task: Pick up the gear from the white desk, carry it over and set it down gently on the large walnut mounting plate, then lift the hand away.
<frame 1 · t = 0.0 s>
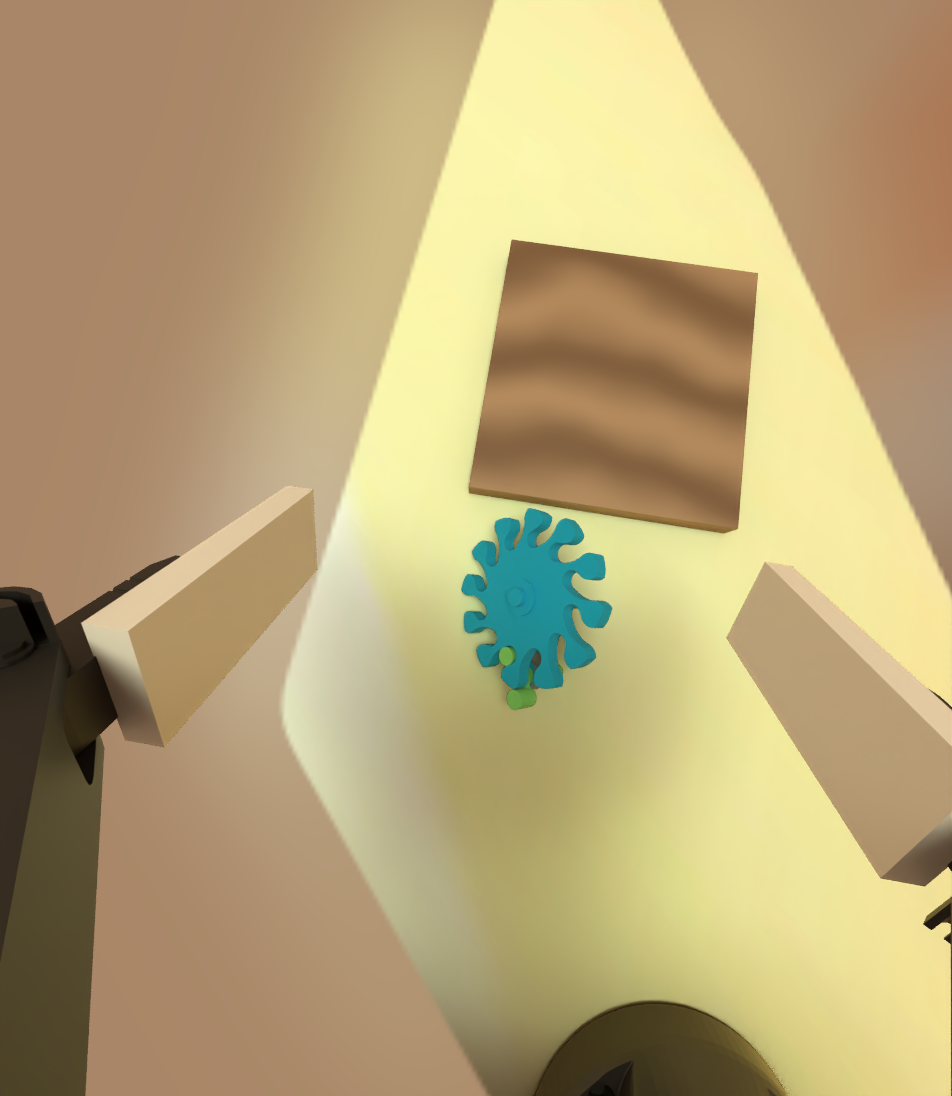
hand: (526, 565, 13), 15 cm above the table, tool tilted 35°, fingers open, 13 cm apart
gear: (520, 608, 28), on the table
mount plate: (611, 387, 30), on the table
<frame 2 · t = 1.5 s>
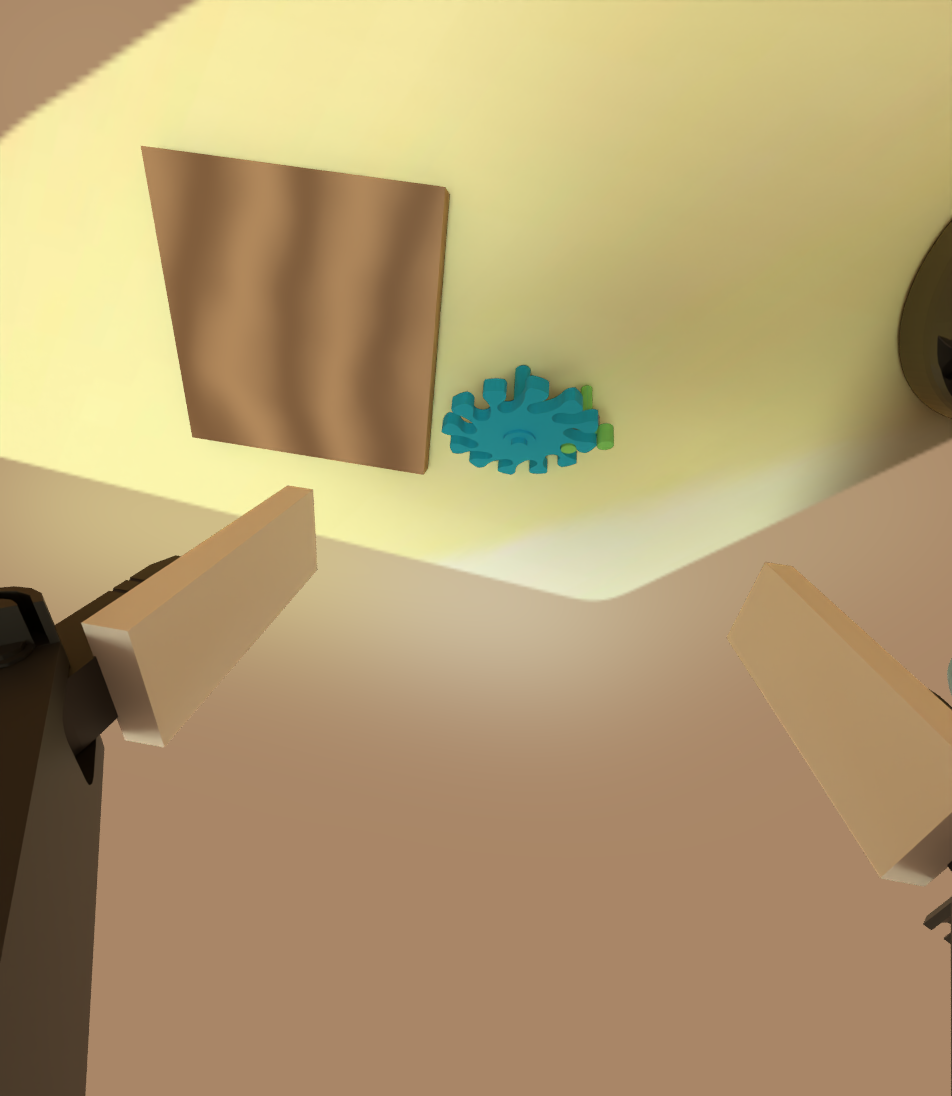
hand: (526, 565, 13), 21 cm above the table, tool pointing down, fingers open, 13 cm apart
gear: (528, 421, 31), on the table
mount plate: (310, 330, 30), on the table
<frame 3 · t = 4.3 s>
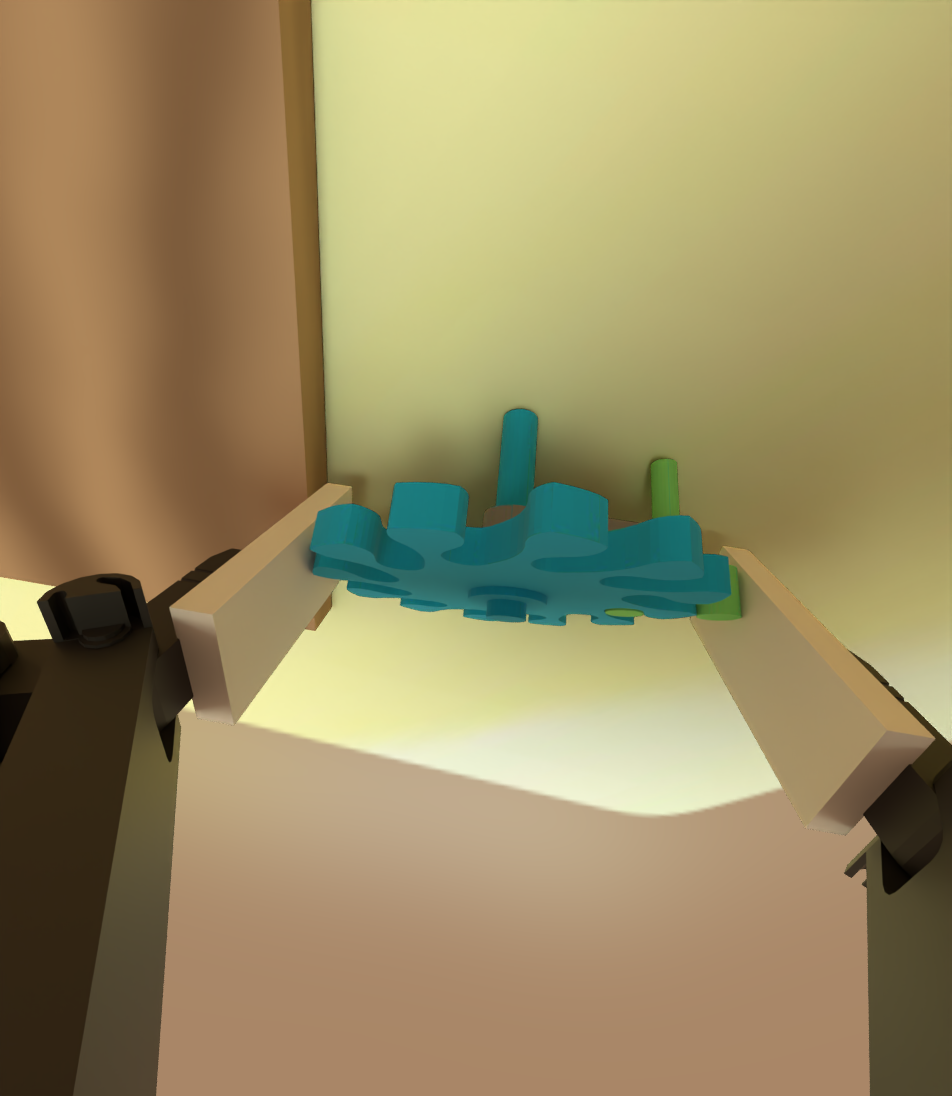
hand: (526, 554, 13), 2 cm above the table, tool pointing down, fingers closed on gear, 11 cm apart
gear: (528, 520, 15), on the table, touching gripper
mount plate: (43, 339, 14), on the table
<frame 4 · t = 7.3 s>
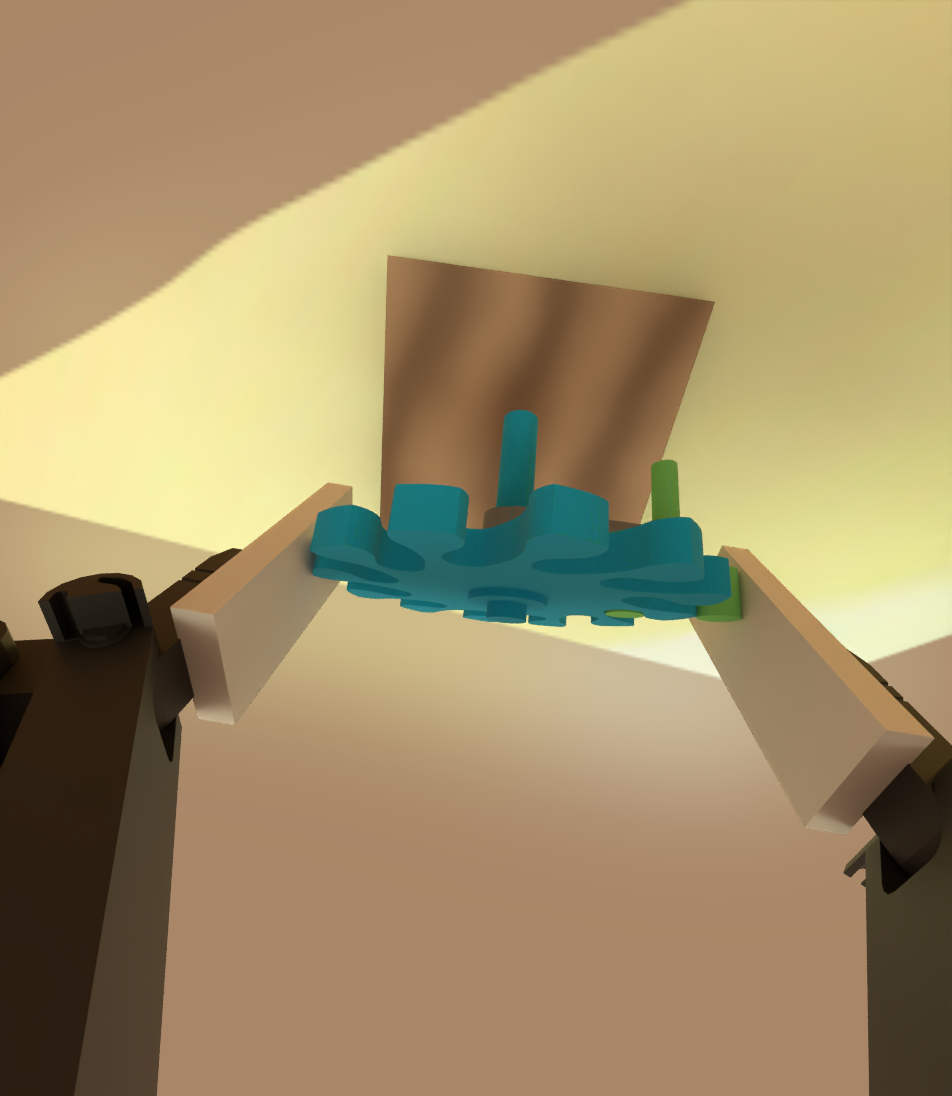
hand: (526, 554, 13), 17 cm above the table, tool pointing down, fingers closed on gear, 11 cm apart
gear: (528, 521, 15), point 16 cm above the table, touching gripper
mount plate: (521, 428, 29), on the table
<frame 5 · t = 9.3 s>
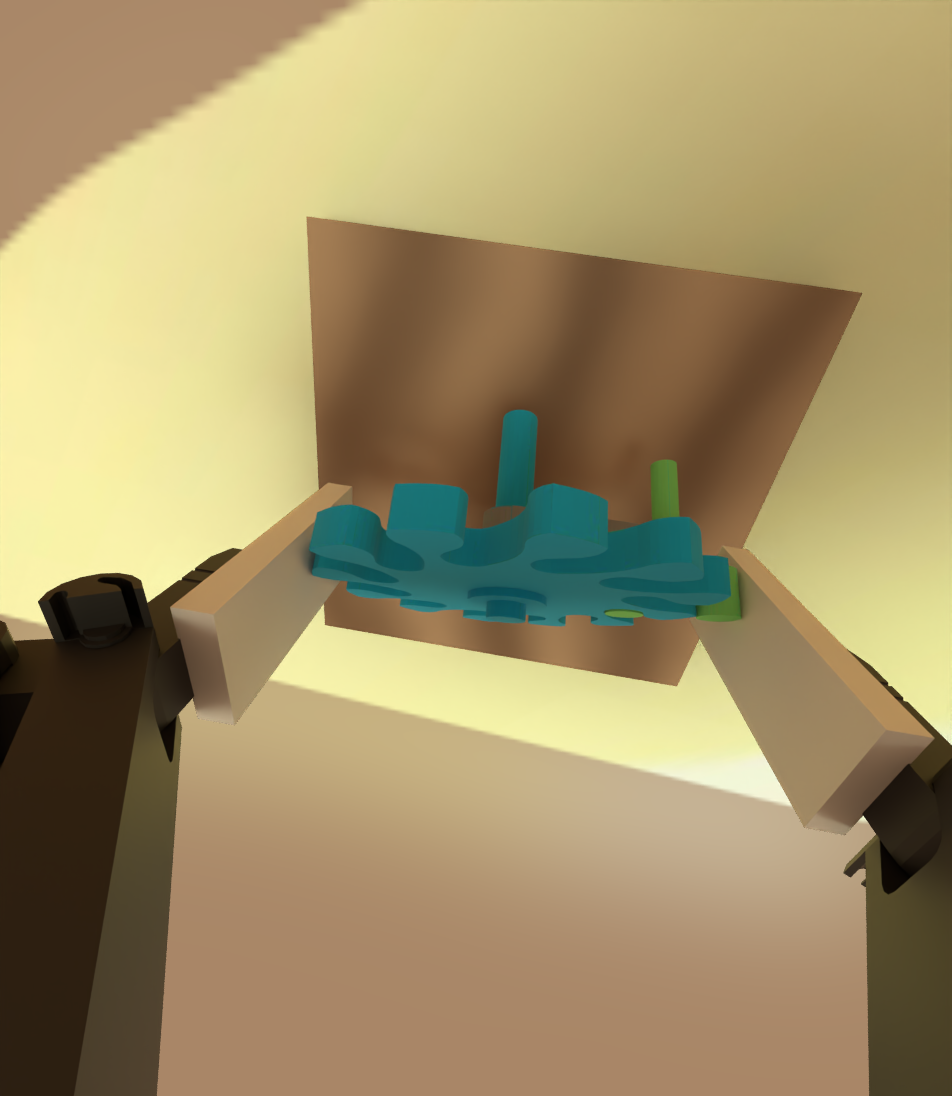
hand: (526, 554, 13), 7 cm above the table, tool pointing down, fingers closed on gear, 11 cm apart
gear: (528, 520, 15), point 5 cm above the table, touching gripper
mount plate: (529, 486, 19), on the table
when the fingers open (4 cm above the table, at t = 10.8 s): gear drops 1 cm, resting on mount plate.
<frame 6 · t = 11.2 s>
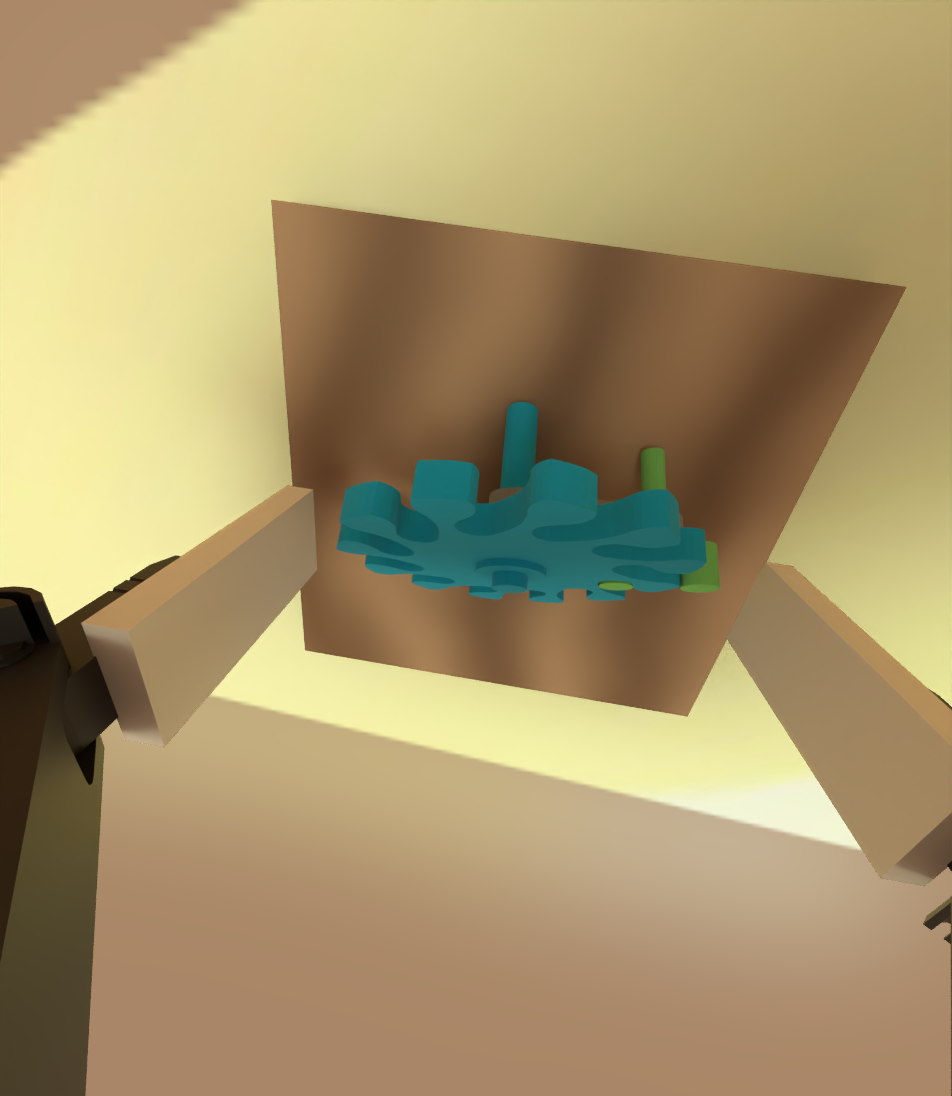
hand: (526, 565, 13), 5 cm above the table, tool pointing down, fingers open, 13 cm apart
gear: (529, 505, 16), point 1 cm above the table, touching mount plate
mount plate: (526, 502, 17), on the table
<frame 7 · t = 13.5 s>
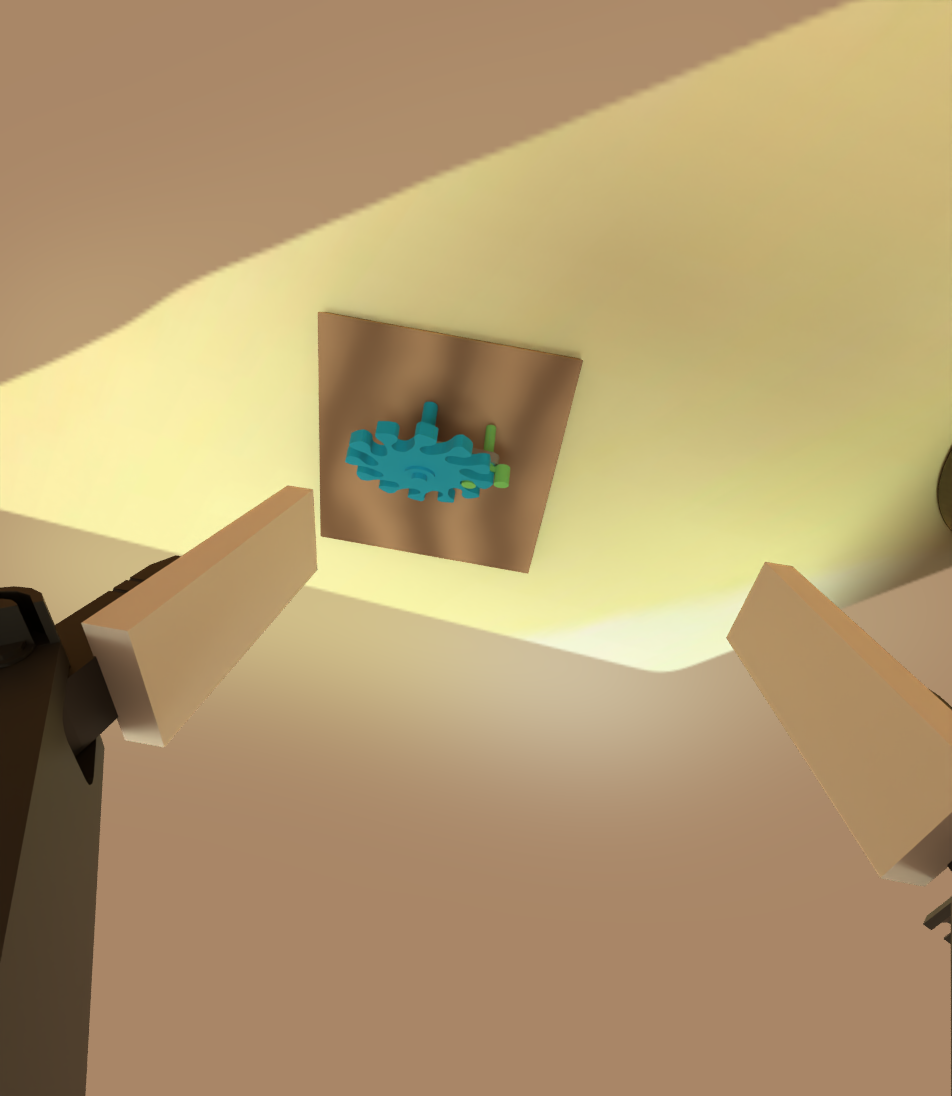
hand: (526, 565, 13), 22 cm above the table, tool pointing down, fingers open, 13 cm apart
gear: (437, 452, 33), point 1 cm above the table, touching mount plate
mount plate: (439, 453, 34), on the table
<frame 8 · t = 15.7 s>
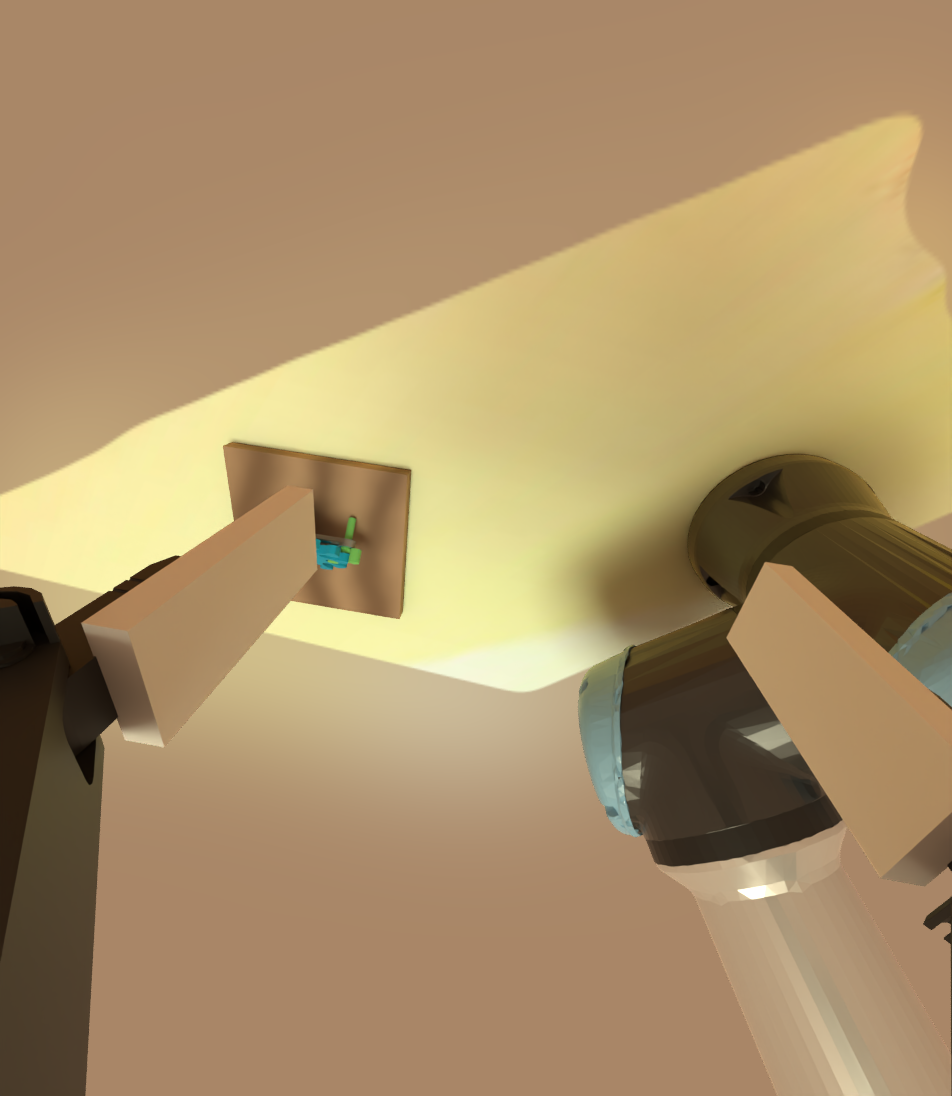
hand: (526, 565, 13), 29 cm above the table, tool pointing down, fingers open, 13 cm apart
gear: (319, 534, 45), point 1 cm above the table, touching mount plate
mount plate: (324, 533, 46), on the table
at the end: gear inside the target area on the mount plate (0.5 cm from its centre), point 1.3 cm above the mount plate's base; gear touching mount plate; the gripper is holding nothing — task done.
